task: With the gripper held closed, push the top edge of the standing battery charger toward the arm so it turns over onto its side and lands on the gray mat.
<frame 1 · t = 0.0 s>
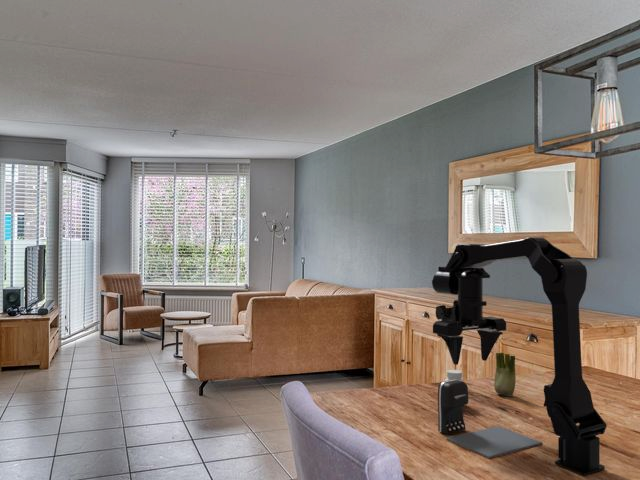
hand: (470, 362, 129), 15 cm above the table, tool pointing down, fingers open, 9 cm apart
pill bottle: (454, 405, 144), on the table
battery charger: (453, 432, 124), on the table
fennel bulb: (504, 395, 154), on the table
gray mat: (493, 441, 117), on the table
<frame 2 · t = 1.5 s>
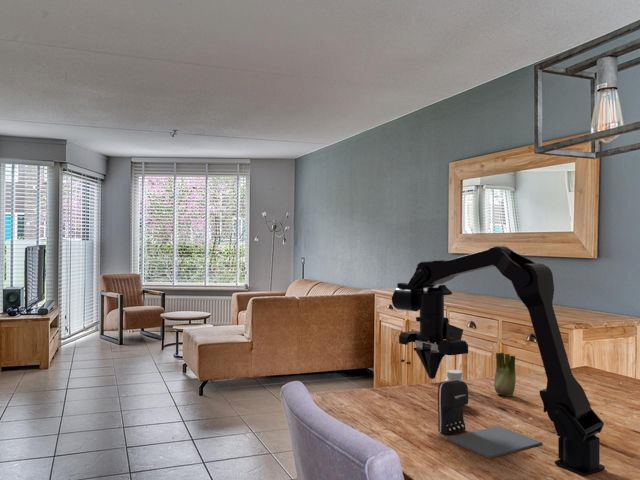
hand: (432, 378, 130), 11 cm above the table, tool pointing down, fingers closed
nothing on the table moved.
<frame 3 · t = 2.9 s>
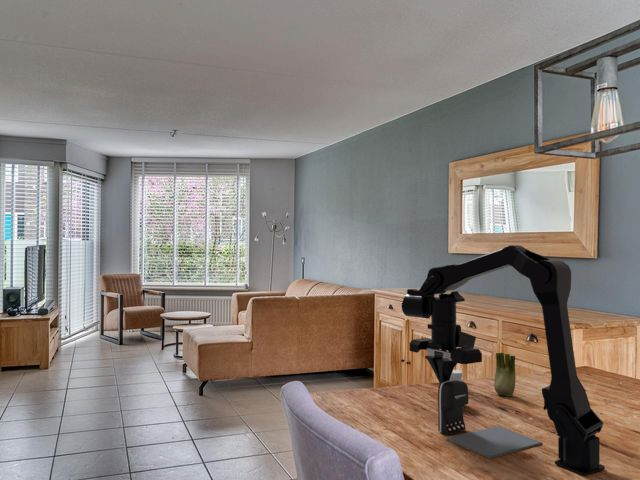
hand: (444, 387, 127), 9 cm above the table, tool pointing down, fingers closed
battery charger: (453, 432, 124), on the table, touching gripper
everything else where it was.
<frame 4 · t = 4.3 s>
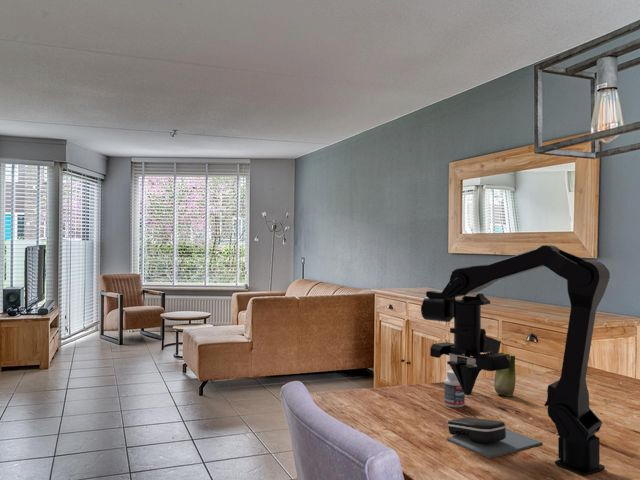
hand: (467, 394, 120), 9 cm above the table, tool pointing down, fingers closed
battery charger: (456, 427, 123), point 1 cm above the table, touching gray mat
everything else where it was.
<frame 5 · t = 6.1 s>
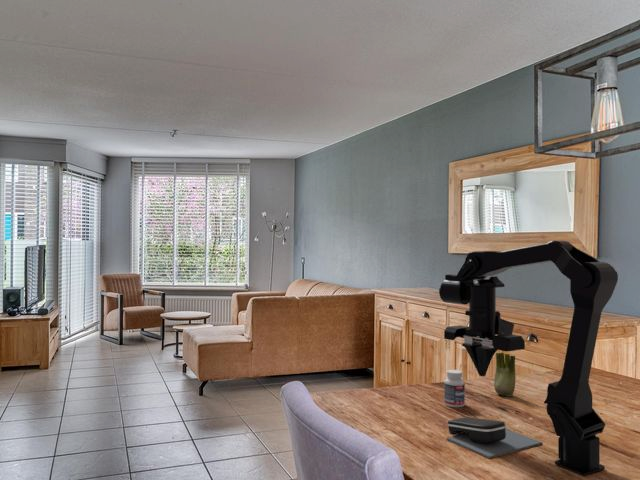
hand: (482, 376, 122), 13 cm above the table, tool pointing down, fingers closed
nothing on the table moved.
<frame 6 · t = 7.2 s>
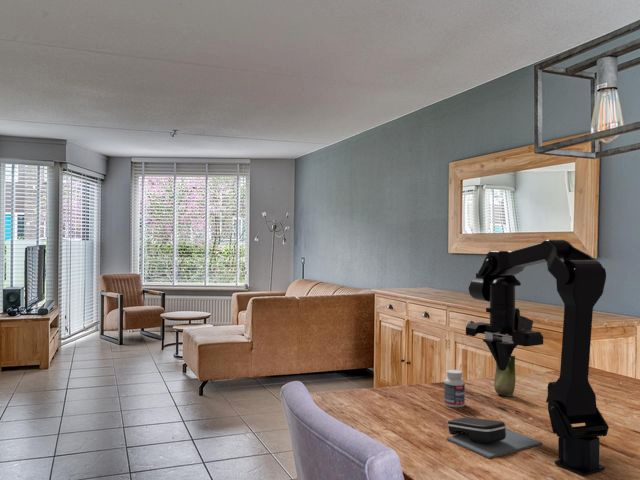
hand: (502, 370, 128), 13 cm above the table, tool pointing down, fingers closed
nothing on the table moved.
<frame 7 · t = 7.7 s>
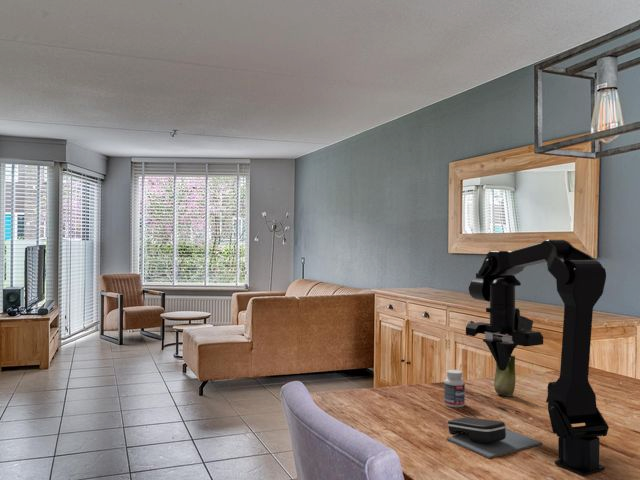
hand: (502, 370, 128), 13 cm above the table, tool pointing down, fingers closed
nothing on the table moved.
at the end: battery charger tilted 81°; battery charger touching gray mat, table; battery charger inside the target area (2.7 cm from its centre), point 1.2 cm above the table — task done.
